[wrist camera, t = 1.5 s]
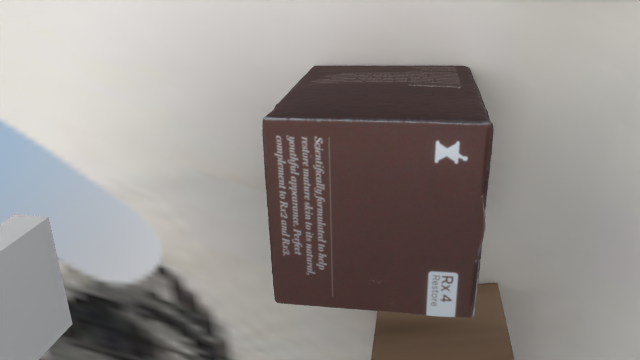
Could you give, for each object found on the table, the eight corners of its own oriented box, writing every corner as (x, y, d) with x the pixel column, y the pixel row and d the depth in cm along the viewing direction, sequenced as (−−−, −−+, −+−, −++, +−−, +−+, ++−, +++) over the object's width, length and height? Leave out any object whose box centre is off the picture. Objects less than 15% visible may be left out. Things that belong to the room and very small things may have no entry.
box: (311, 61, 21) (257, 110, 14) (473, 63, 20) (498, 118, 13) (315, 205, 23) (270, 306, 16) (460, 213, 22) (475, 325, 15)
